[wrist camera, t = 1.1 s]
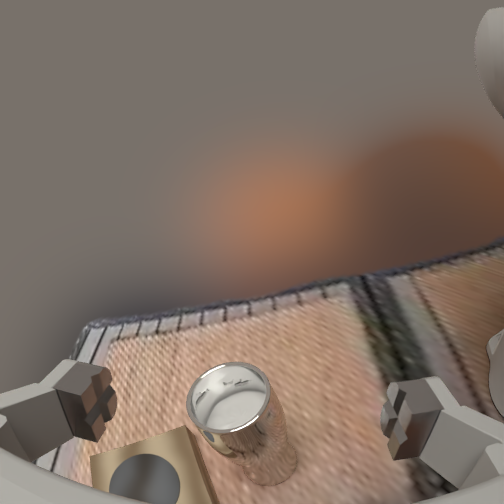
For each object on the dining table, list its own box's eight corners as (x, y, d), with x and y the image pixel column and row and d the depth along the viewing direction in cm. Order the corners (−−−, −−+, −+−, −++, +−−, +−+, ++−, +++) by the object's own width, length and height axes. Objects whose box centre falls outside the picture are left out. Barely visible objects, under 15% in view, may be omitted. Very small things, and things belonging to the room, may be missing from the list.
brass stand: (194, 435, 35) (183, 424, 33) (228, 525, 24) (217, 520, 22) (103, 465, 32) (88, 455, 30) (118, 550, 21) (101, 545, 19)
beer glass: (231, 450, 32) (175, 379, 24) (286, 426, 33) (253, 346, 26) (251, 498, 26) (195, 449, 19) (312, 472, 27) (289, 410, 20)
